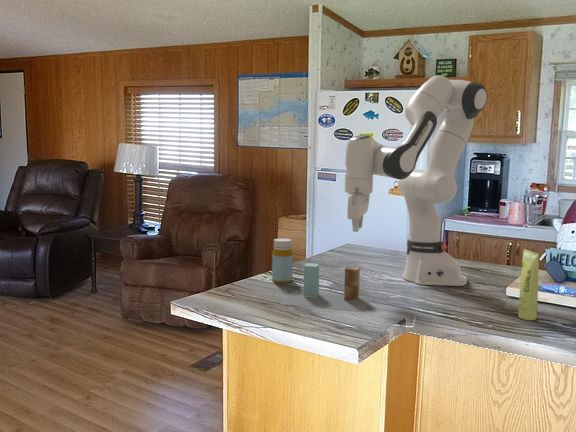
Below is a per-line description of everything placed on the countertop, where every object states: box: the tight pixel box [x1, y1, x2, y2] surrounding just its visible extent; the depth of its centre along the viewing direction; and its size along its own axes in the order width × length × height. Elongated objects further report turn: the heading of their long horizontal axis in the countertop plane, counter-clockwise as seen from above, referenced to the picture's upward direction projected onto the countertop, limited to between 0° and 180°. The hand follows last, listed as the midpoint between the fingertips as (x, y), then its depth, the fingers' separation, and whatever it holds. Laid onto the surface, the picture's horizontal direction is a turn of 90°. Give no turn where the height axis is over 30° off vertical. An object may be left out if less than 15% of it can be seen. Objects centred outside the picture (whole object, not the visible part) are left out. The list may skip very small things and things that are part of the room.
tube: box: [517, 248, 540, 321], centre depth 164 cm, size 6×5×20 cm
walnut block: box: [343, 265, 361, 301], centre depth 180 cm, size 4×4×10 cm
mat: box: [279, 290, 373, 313], centre depth 179 cm, size 26×16×1 cm, turn 74°
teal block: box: [303, 262, 320, 298], centre depth 184 cm, size 4×4×10 cm
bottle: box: [271, 237, 294, 284], centre depth 201 cm, size 7×7×15 cm
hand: (357, 229), depth 186 cm, fingers open, 6 cm apart
